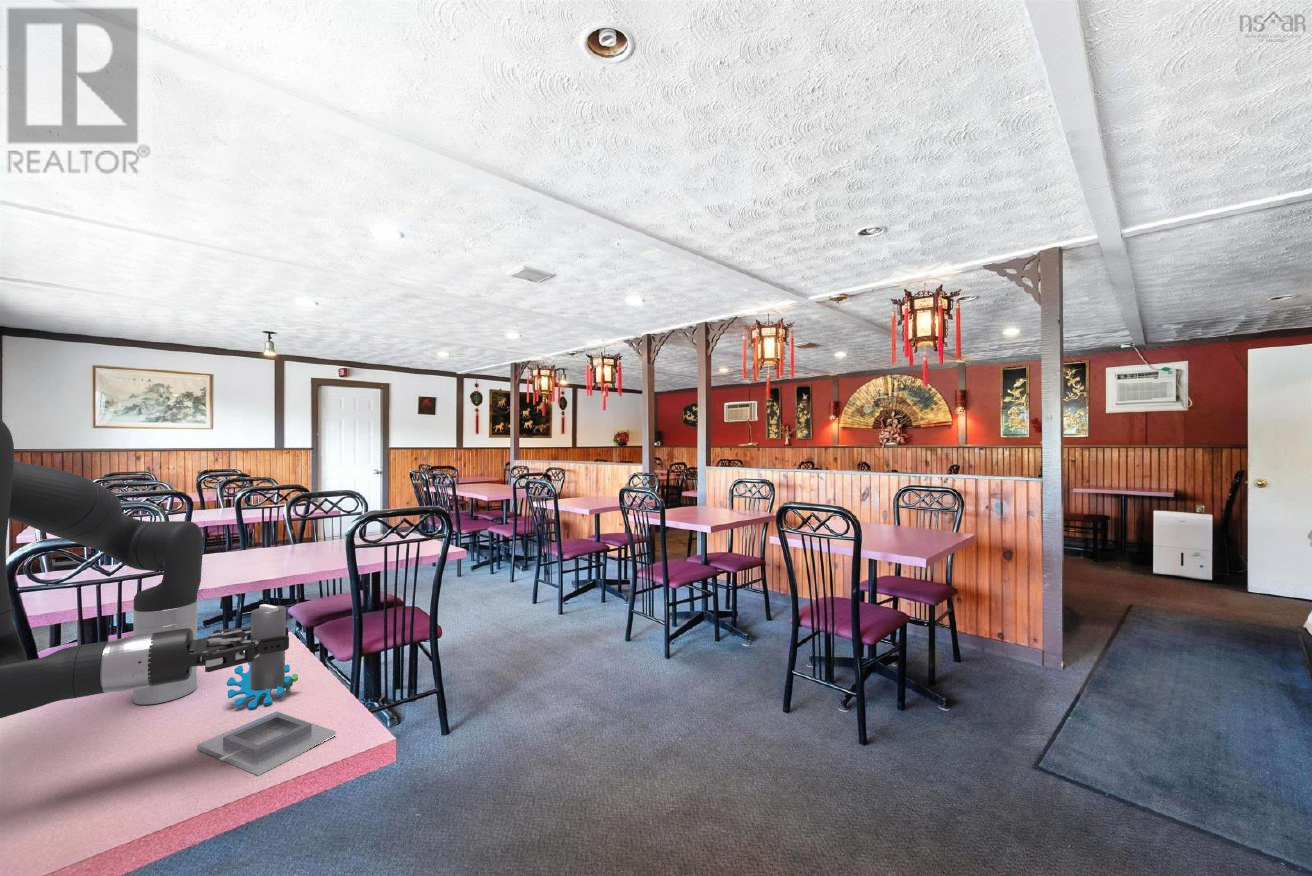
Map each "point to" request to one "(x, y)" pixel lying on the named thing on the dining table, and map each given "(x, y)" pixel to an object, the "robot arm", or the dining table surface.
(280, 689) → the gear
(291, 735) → the grey peg base plate
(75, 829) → the dining table surface
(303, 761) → the dining table surface
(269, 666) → the grey peg
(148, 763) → the dining table surface
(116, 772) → the dining table surface
